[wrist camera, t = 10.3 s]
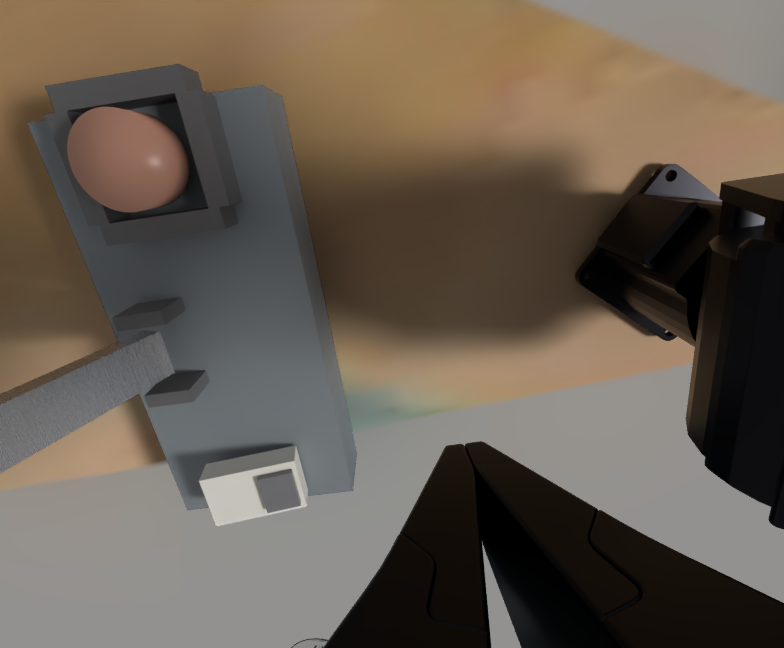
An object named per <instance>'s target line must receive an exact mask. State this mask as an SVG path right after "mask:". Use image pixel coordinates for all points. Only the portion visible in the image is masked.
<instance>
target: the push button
mask: <svg viewBox="0 0 784 648" xmlns="http://www.w3.org/2000/svg"><path fill="white" fill-rule="evenodd" d="M67 153H68V159H69V163H70V166H71V169H72V172H73V174H74V176H75V178H76V179H77V181H78V183H79V184H80V185H81V187H82V188H83V189H84V190H85V191H86V192H87V193H88V194H89V195H90V196H91V197H92V198H93V199H95V200H96V201H97V202H99V203H100V204H102V205H104V206H106V207H108V208H110V209H113V210H116V211H121V212H138V211H143V210H148V209H152V208H157V207H162V206H166V205H168V204H171V203H173V202H174V201H176V200H177V199H178V198H179V197H180V196H181V195H182V194H183V192H184V191H185V189H186V187H187V185H188V182H189V177H190V161H189V157H188V153H187V151H186V148H185V146H184V144H183V142H182V140H181V139H180V137H179V136H178V135H177V133H176V132H175V131H174V130H173V129H172V128H171V127H170V126H169V125H168V124H166V123H165V122H164V121H162V120H160V119H159V118H157V117H155V116H152V115H149V114H146V113H141V112H136V111H131V110H126V109H120V108H115V107H98V108H94V109H91V110H89V111H87V112H85V113H84V114H82V115H81V116H80V117H79V118H78V119H77V120H76V121H75V123H74V124H73V126H72V128H71V130H70V133H69V136H68V141H67Z"/></svg>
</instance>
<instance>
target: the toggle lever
mask: <svg viewBox="0 0 784 648" xmlns="http://www.w3.org/2000/svg"><path fill="white" fill-rule="evenodd" d="M174 373H175V372H174V369H173V367H172V364H171V361H170V358H169V356H168V353H167V350H166V348H165V345H164V342H163V340H162V337H161V334H160V331H147V330H144V331H142V332H139V333H137V334H135V335H133V336H130V337H128V338H126V339H123V340H121V341H119V342H117V343H114V344H112V345H110V346H108V347H105V348H103V349H101V350H99V351H96V352H94V353H92V354H90V355H87V356H85V357H83V358H81V359H78V360H76V361H74V362H72V363H69V364H67V365H65V366H63V367H60V368H58V369H56V370H54V371H51V372H49V373H47V374H45V375H42V376H40V377H38V378H36V379H33V380H31V381H29V382H27V383H24V384H22V385H20V386H18V387H15V388H13V389H11V390H9V391H6V392H4V393H2V394H0V473H2V472H3V471H5V470H7V469H9V468H10V467H12V466H14V465H16V464H17V463H19V462H21V461H23V460H24V459H26V458H28V457H29V456H31V455H33V454H35V453H36V452H38V451H40V450H42V449H43V448H45V447H47V446H49V445H50V444H52V443H54V442H56V441H57V440H59V439H61V438H62V437H64V436H66V435H68V434H69V433H71V432H73V431H75V430H76V429H78V428H80V427H82V426H83V425H85V424H87V423H89V422H90V421H92V420H94V419H95V418H97V417H99V416H101V415H102V414H104V413H106V412H108V411H109V410H111V409H113V408H115V407H116V406H118V405H120V404H122V403H123V402H125V401H127V400H128V399H130V398H132V397H134V396H135V395H137V394H139V393H141V392H142V391H144V390H146V389H148V388H149V387H151V386H153V385H154V384H156V383H158V382H160V381H161V380H163V379H165V378H167V377H168V376H170V375H172V374H174Z"/></svg>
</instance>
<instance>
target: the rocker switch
mask: <svg viewBox="0 0 784 648" xmlns="http://www.w3.org/2000/svg"><path fill="white" fill-rule="evenodd" d="M199 483H200V485H201V488H202V491H203V493H204V496H205V498H206V501H207V503H208V506H209V509H210V511H211V513H212V516H213V519H214V521H215V524H216V526H221V525H226V524H230V523H235V522H239V521H244V520H248V519H253V518H258V517H262V516H266V515H271V514H275V513H280V512H285V511H289V510H294V509H298V508H302V507H307V496H308V488H307V484H306V481H305V477H304V473H303V470H302V466H301V462H300V459H299V455H298V451H297V448H296V445H295V446H291V447H286V448H281V449H276V450H271V451H267V452H262V453H257V454H252V455H247V456H243V457H238V458H233V459H228V460H223V461H219V462H214V463H209V464H206V465H205V467H204V470H203V472H202V475H201V477H200V479H199Z"/></svg>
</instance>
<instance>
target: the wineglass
mask: <svg viewBox="0 0 784 648" xmlns="http://www.w3.org/2000/svg"><path fill="white" fill-rule="evenodd" d="M327 642H328V640H325V639H307V640H303V641H300V642H298V643H296V644H295V645H294V646H293V647H292V648H323V647H324V646H325V644H326V643H327Z"/></svg>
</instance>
